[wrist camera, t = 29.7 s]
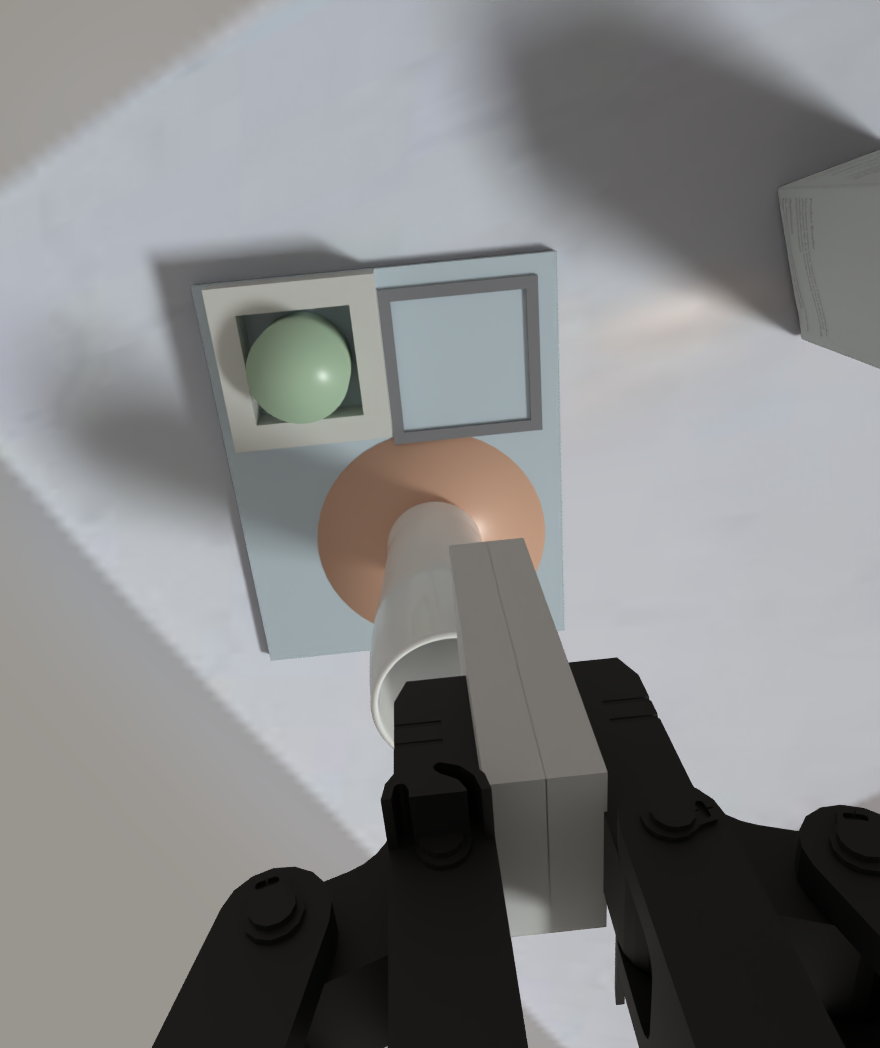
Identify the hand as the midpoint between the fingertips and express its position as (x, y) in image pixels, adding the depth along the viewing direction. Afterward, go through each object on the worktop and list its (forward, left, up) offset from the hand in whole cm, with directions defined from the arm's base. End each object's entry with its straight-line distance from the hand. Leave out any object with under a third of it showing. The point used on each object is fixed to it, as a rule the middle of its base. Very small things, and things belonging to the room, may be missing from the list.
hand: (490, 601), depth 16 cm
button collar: (+6, 0, -26) cm, 27 cm away
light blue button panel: (+2, +7, -26) cm, 27 cm away
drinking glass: (+1, +11, -26) cm, 28 cm away
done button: (+6, 0, -25) cm, 26 cm away
